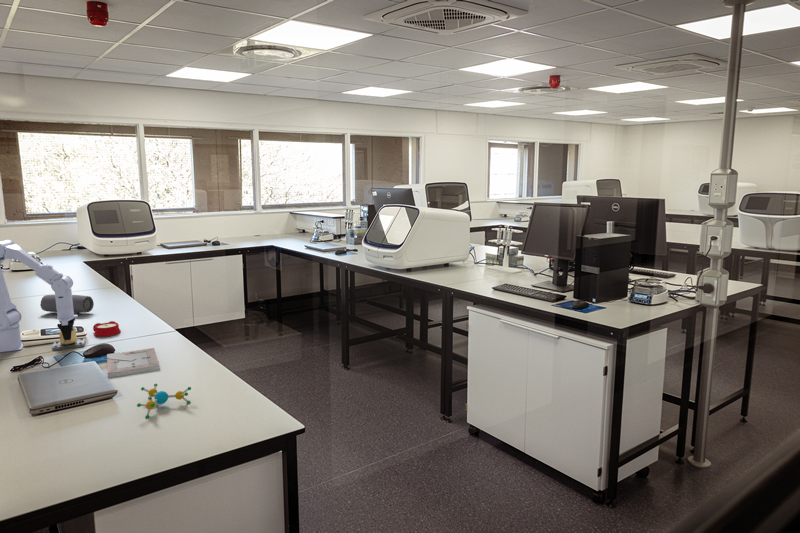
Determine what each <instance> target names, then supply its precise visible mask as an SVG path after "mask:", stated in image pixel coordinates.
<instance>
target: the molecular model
mask: <svg viewBox="0 0 800 533" xmlns="http://www.w3.org/2000/svg"><path fill="white" fill-rule="evenodd" d="M158 386H159V385H158V383H154V384H153V388H150V389H147V388H145V387H144V386H142V387H141V388H140V390H141V391H144V392H147V394H148V397H147V399H148V400H149V401H147V402H146V403H140V402H138V403H137V405H136V407H137V408H141V407H145V408H146V409H147V413H146V415H145V419H149V418H150V412H151V410H153V409H154V408H155V407H156V404H158V405H163V404H165V403H167V401H168V399H169V398H175V399H176V400H180V401H181V400H183V401H185V402H186V404H187V405H188V404H190V403H191V400H188V399H187V398H186V396H189V393H188V392H189V391H191V390H192V386H191V387H190V386H188V387H187V388H186V389H185V390H184V391H181V390H178V391H177V392H176V393H175V394H168V393H167V391H164V390H160V391H158V390H157V387H158ZM152 398H154V400H152Z"/></svg>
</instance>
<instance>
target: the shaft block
mask: <svg viewBox="0 0 800 533" xmlns="http://www.w3.org/2000/svg"><path fill="white" fill-rule="evenodd" d="M85 343H86V338H85V337H84V338H78V339H77V342H74V343H70V344H60V341H55V342H53V343H52V347H51V351H60V350H69V349H76V348H83V347H85V345H86V344H85Z"/></svg>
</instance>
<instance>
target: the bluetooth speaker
mask: <svg viewBox="0 0 800 533" xmlns="http://www.w3.org/2000/svg"><path fill="white" fill-rule="evenodd" d="M72 300H73V310H74V315H79V314H82V313H83V314H84V313H85V314H86V313H89V312H91V311H93V309H94V306H95V304H94V300H93V298H92V296H89V295H82V294H81V295H79V294H72ZM40 308H41V310H43V312H49V313H57V307H56V298H55V294H46V295H45V294H44V295H43V297H42V298H41V300H40Z"/></svg>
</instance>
